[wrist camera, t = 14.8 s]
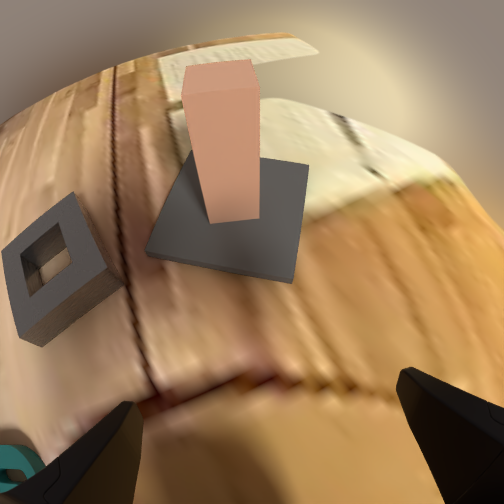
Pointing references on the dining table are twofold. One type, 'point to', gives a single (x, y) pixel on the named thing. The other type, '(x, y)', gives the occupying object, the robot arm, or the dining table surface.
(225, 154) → the peg
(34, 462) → the bracket
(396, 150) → the dining table surface
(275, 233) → the mat
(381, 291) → the dining table surface
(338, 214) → the dining table surface
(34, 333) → the socket block
